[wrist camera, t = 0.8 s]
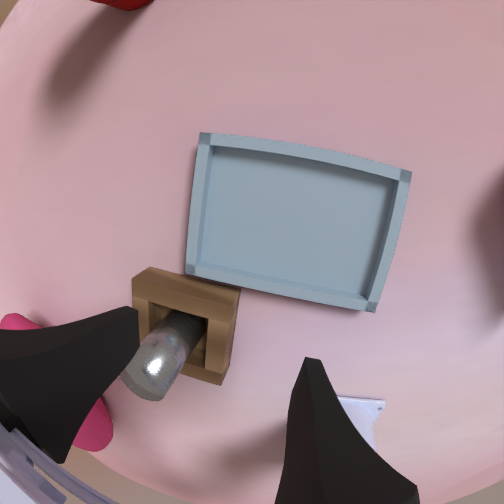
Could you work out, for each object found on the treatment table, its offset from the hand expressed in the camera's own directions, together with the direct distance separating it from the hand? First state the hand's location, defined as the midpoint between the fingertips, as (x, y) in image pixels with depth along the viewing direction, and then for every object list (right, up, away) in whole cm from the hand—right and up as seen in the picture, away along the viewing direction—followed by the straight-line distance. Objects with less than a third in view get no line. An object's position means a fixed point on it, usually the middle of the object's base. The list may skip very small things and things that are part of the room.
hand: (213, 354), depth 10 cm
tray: (+4, +6, +8) cm, 11 cm away
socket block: (-4, -2, +12) cm, 13 cm away
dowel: (-4, -2, +12) cm, 12 cm away
